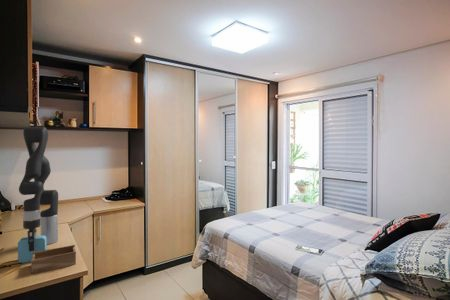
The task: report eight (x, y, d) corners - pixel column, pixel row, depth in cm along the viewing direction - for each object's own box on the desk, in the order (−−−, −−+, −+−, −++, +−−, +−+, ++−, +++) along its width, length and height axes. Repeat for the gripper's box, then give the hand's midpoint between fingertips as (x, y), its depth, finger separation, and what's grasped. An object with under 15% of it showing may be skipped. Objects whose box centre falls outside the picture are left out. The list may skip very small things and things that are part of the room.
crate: (32, 264, 137) (32, 252, 137) (74, 256, 147) (74, 244, 147) (31, 273, 127) (30, 260, 127) (76, 264, 137) (76, 252, 137)
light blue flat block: (46, 256, 147) (46, 234, 147) (45, 259, 143) (44, 237, 143) (20, 260, 142) (19, 238, 142) (17, 263, 138) (17, 240, 138)
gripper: (24, 216, 146) (24, 245, 146) (21, 222, 134) (21, 254, 134) (41, 214, 150) (41, 243, 150) (39, 220, 138) (39, 251, 138)
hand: (32, 248), depth 142 cm, fingers open, 8 cm apart
